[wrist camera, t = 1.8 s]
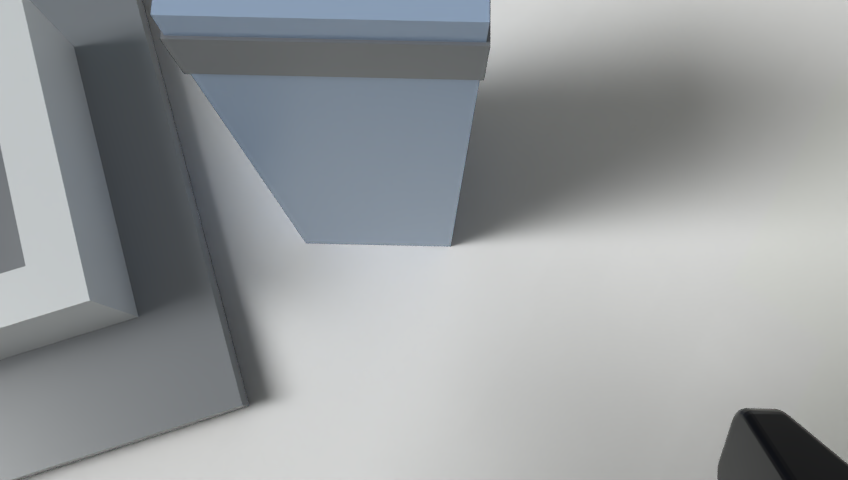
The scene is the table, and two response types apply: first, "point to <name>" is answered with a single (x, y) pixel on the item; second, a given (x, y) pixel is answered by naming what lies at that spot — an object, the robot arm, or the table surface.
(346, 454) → the table surface
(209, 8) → the charger block
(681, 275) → the table surface
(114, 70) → the charging dock
